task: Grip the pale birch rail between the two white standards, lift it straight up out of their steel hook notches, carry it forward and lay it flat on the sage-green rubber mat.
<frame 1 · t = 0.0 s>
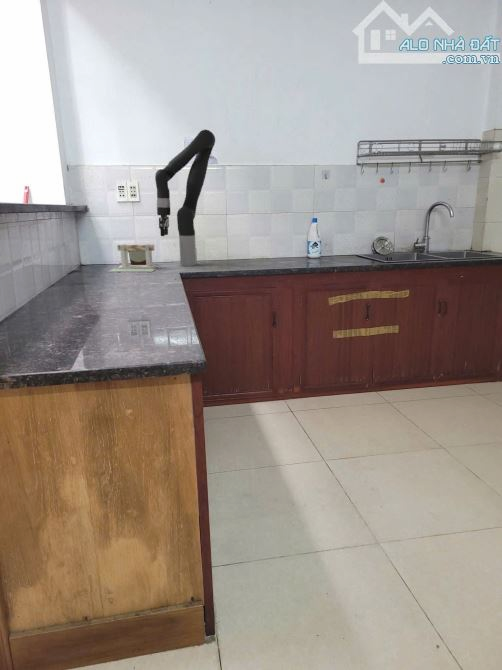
hand: (164, 235, 274), 17 cm above the worktop, tool pointing down, fingers open, 8 cm apart
rack: (137, 268, 268), on the worktop
rail: (136, 250, 265), point 10 cm above the worktop, touching rack
mat: (132, 270, 259), on the worktop
food container: (140, 265, 280), on the worktop
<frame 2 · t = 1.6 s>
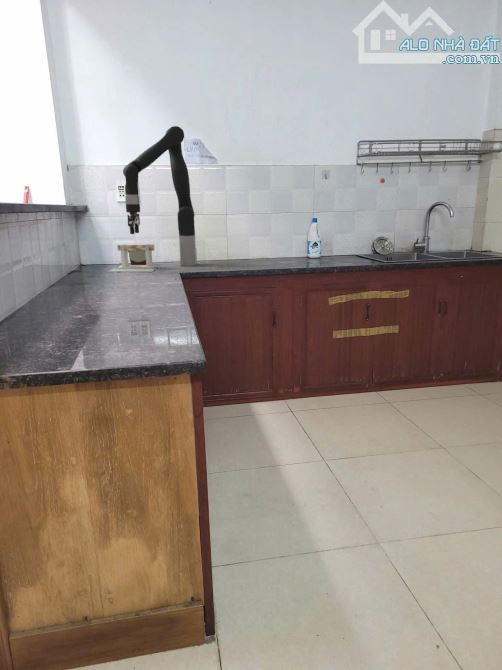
hand: (134, 233, 263), 19 cm above the worktop, tool pointing down, fingers open, 8 cm apart
nothing on the worktop moved.
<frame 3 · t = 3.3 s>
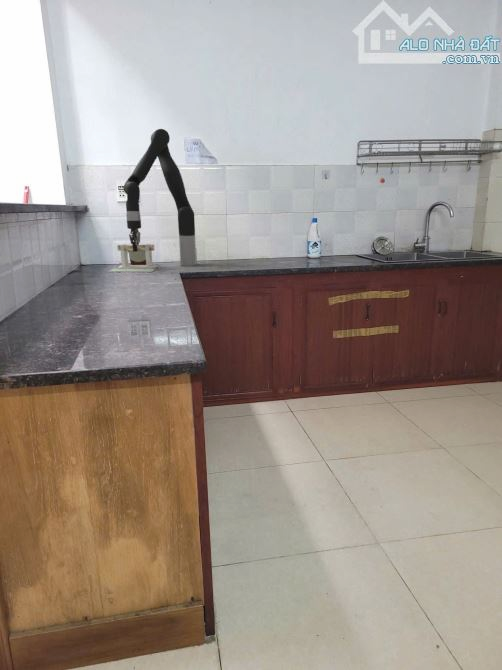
hand: (136, 251, 266), 10 cm above the worktop, tool pointing down, fingers closed on rail, 3 cm apart
rail: (136, 250, 265), point 10 cm above the worktop, touching gripper, rack
everything else where it was.
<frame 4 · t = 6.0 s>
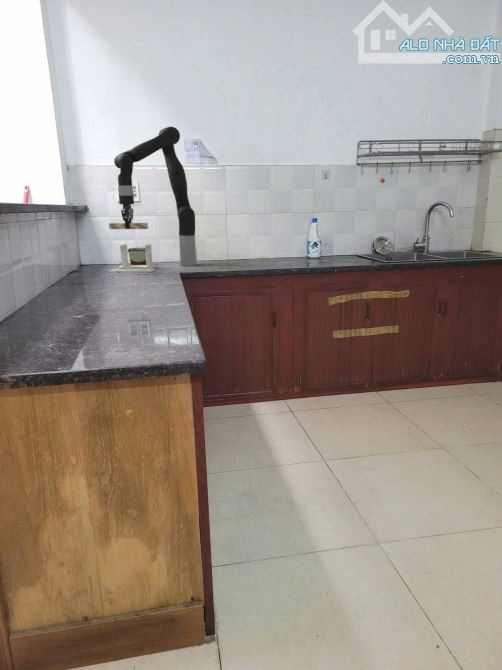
hand: (128, 228, 252), 23 cm above the worktop, tool pointing down, fingers closed on rail, 3 cm apart
rail: (128, 228, 252), point 23 cm above the worktop, touching gripper
everything else where it was.
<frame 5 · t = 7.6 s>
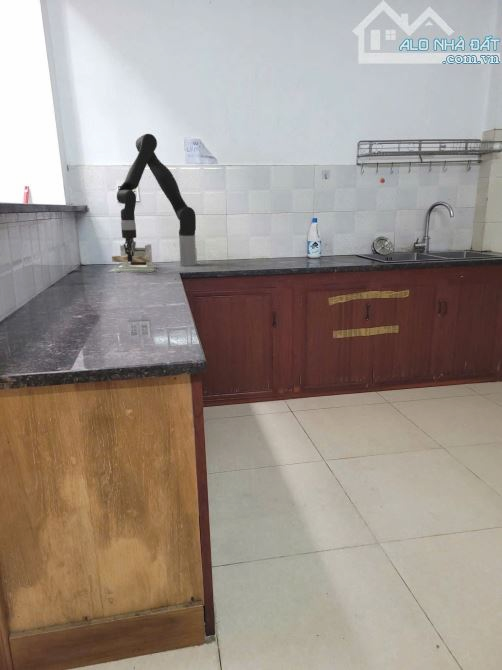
hand: (131, 261, 257), 5 cm above the worktop, tool pointing down, fingers closed on rail, 3 cm apart
rail: (131, 261, 257), point 5 cm above the worktop, touching gripper
everything else where it was.
when the fingers open (1 cm above the worktop, at t = 8.8 s): rail stays where it is, resting on mat.
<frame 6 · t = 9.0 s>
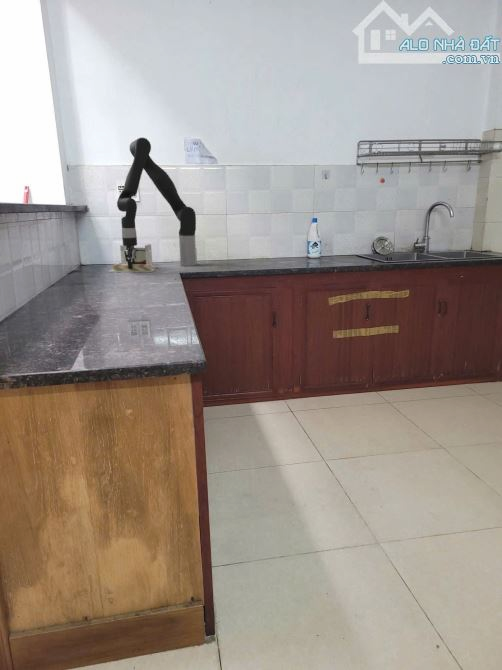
hand: (132, 268, 258), 2 cm above the worktop, tool pointing down, fingers open, 4 cm apart
rail: (132, 270, 259), resting on mat
everything else where it was.
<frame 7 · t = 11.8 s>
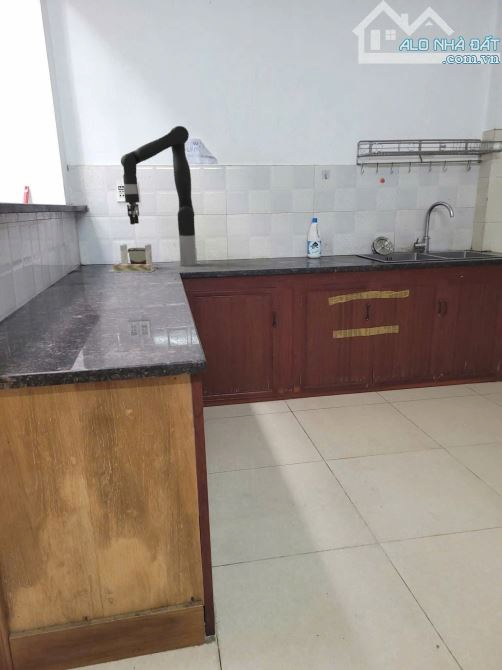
hand: (134, 223, 260), 25 cm above the worktop, tool pointing down, fingers open, 8 cm apart
nothing on the worktop moved.
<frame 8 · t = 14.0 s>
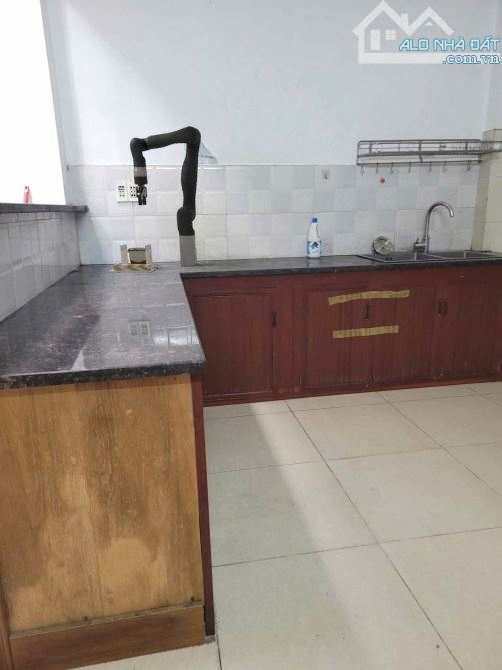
hand: (142, 205, 274), 34 cm above the worktop, tool pointing down, fingers open, 8 cm apart
nothing on the worktop moved.
at the end: rail 0.0 cm off-centre on the mat, point 0.4 cm above the mat's base; rail touching mat; the gripper is holding nothing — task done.
